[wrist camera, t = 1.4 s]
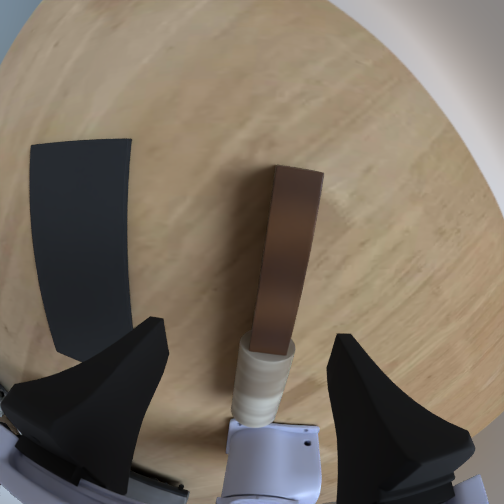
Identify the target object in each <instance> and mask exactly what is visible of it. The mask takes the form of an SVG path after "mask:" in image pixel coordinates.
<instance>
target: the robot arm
mask: <svg viewBox="0 0 504 504" xmlns="http://www.w3.org/2000/svg"><path fill="white" fill-rule="evenodd" d="M168 356H169V350H168V344H167V338H166V332H165V326H164V320H163V318H157V317H151V316H150V317H149V318H147V319H146V320H145V321H143V322H142V323H141V324H139V325H138V326H137V327H135V328H134V329H133V330H131V331H130V332H129V333H127V334H126V335H125V336H123V337H122V338H121V339H119V340H118V341H117V342H115V343H114V344H112V345H111V346H109V347H107V348H106V349H104V350H103V351H101V352H100V353H98V354H97V355H95V356H93V357H92V358H90V359H88V360H86V361H84V362H82V363H80V364H78V365H76V366H74V367H71V368H69V369H67V370H64V371H62V372H60V373H57V374H54V375H51V376H48V377H44V378H41V379H37V380H33V381H28V382H23V383H17V384H14V385H13V387H12V388H11V389H10V391H9V392H8V393H7V395H6V396H5V397H4V399H3V400H2V402H1V403H0V406H1V409H2V411H3V412H4V414H5V415H6V416H7V418H8V419H9V420H10V421H11V422H12V424H13V425H14V426H15V427H16V428H17V429H18V431H19V432H20V433H21V434H22V435H21V436H20V438H18V437H17V436H16V435H15V434H13V433H12V432H11V431H9V430H8V429H7V428H5V427H4V426H3V425H1V424H0V484H1V485H2V486H3V487H4V488H5V489H7V490H8V491H9V492H10V493H11V494H12V495H13V496H15V497H16V498H17V499H18V500H19V501H21V502H22V503H23V504H146V503H143V502H140V501H137V500H134V499H131V498H128V497H125V496H123V495H125V494H127V489H128V482H129V475H130V469H131V464H132V459H133V454H134V450H135V446H136V442H137V438H138V435H139V431H140V428H141V424H142V421H143V418H144V415H145V413H146V410H147V408H148V406H149V404H150V402H151V399H152V397H153V395H154V393H155V391H156V388H157V386H158V384H159V382H160V380H161V377H162V375H163V373H164V369H165V366H166V363H167V359H168ZM327 383H328V392H329V397H330V402H331V407H332V412H333V418H334V423H335V428H336V435H337V450H338V485H337V501H336V504H489V502H488V498H487V495H486V492H485V488H484V485H483V482H482V479H481V476H480V474H478V475H476V476H474V477H471V478H469V479H467V480H465V481H463V482H461V483H459V484H457V485H455V486H452V482H451V481H453V480H454V479H455V476H454V471H455V470H456V469H458V468H459V467H460V466H461V465H462V464H464V463H465V462H466V461H467V460H468V459H469V458H470V457H471V456H472V455H473V454H474V451H475V446H474V444H473V441H472V439H471V436H470V434H469V432H468V431H467V430H465V429H463V428H460V427H458V426H456V425H453V424H451V423H449V422H447V421H445V420H443V419H442V418H440V417H438V416H436V415H435V414H433V413H431V412H430V411H428V410H427V409H425V408H424V407H422V406H421V405H420V404H418V403H417V402H415V401H414V400H413V399H412V398H410V397H409V396H408V395H407V394H406V393H404V392H403V391H402V390H401V389H400V388H399V387H398V386H396V385H395V384H394V383H393V382H392V381H391V380H390V379H389V378H388V377H387V376H386V375H385V374H384V373H383V371H382V370H381V369H380V368H379V367H378V366H377V365H376V364H375V362H374V361H373V360H372V359H371V358H370V357H369V355H368V354H367V353H366V352H365V351H364V349H363V348H362V347H361V346H360V344H359V343H358V342H357V341H356V339H355V338H354V337H353V336H352V335H351V334H340V333H337V335H336V338H335V342H334V345H333V348H332V352H331V355H330V358H329V362H328V365H327ZM319 430H320V429H319V427H318V426H306V425H288V424H276V423H270V424H269V425H267V426H264V427H260V428H251V427H247V426H244V425H242V424H240V423H239V422H237V421H236V420H235V419H231V420H230V424H229V431H228V439H227V446H226V454H228V460H227V466H226V472H225V478H224V483H223V489H222V495H221V497H217V499H216V504H315V503H316V501H317V499H318V497H319V494H320V489H321V463H320V452H319V441H318V432H319Z"/></svg>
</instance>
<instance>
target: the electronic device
mask: <svg viewBox="0 0 504 504" xmlns="http://www.w3.org/2000/svg"><path fill="white" fill-rule="evenodd" d="M7 393H8V392H7V391H6V390H5V389H4V388H3V387H2V386H1V384H0V396H1V397H2V398H4V397H5V396H6V395H7Z"/></svg>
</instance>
